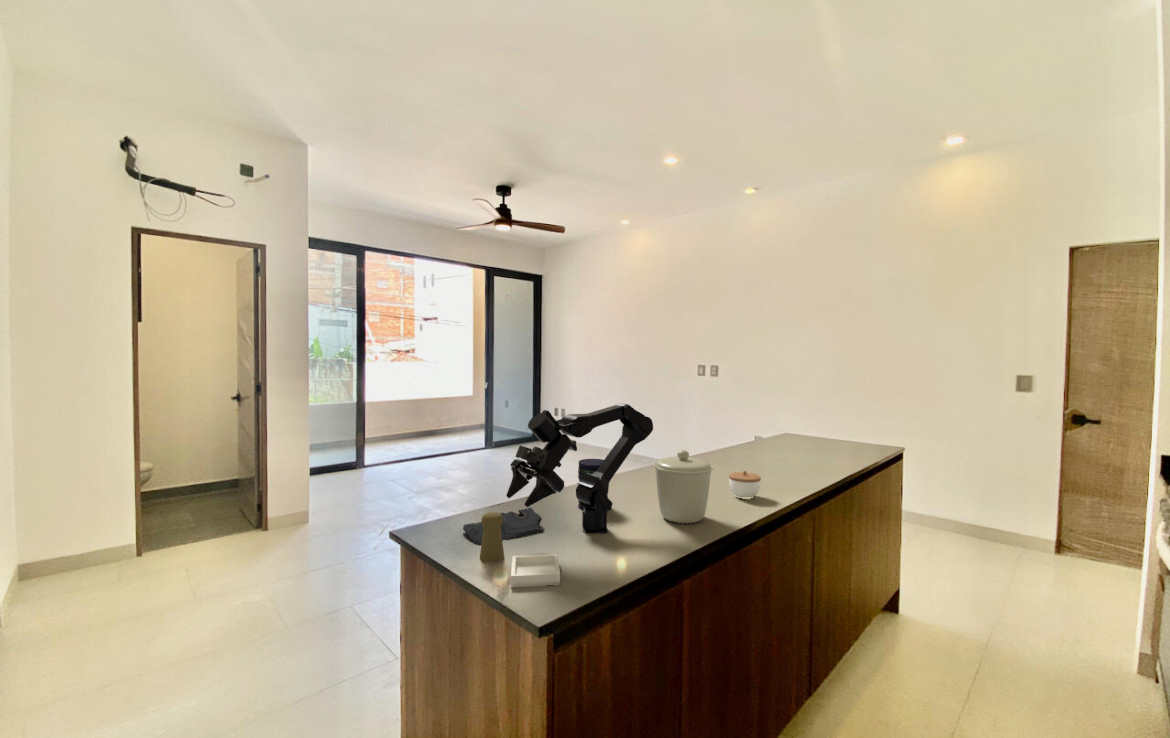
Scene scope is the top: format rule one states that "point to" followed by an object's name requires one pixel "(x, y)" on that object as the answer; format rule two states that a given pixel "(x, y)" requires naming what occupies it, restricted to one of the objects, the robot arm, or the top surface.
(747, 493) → the lidded jar
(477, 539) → the dark slate chunk
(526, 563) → the tray
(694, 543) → the top surface
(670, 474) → the canister
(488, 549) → the olive brown pawn
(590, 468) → the storage jar
